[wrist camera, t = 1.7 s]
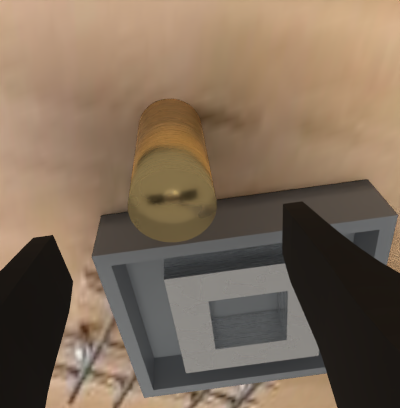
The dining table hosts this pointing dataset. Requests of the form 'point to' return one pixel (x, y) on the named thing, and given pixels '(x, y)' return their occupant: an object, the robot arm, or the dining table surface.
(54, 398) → the dining table surface
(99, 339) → the dining table surface
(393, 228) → the box
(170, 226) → the connector
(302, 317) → the inlet
